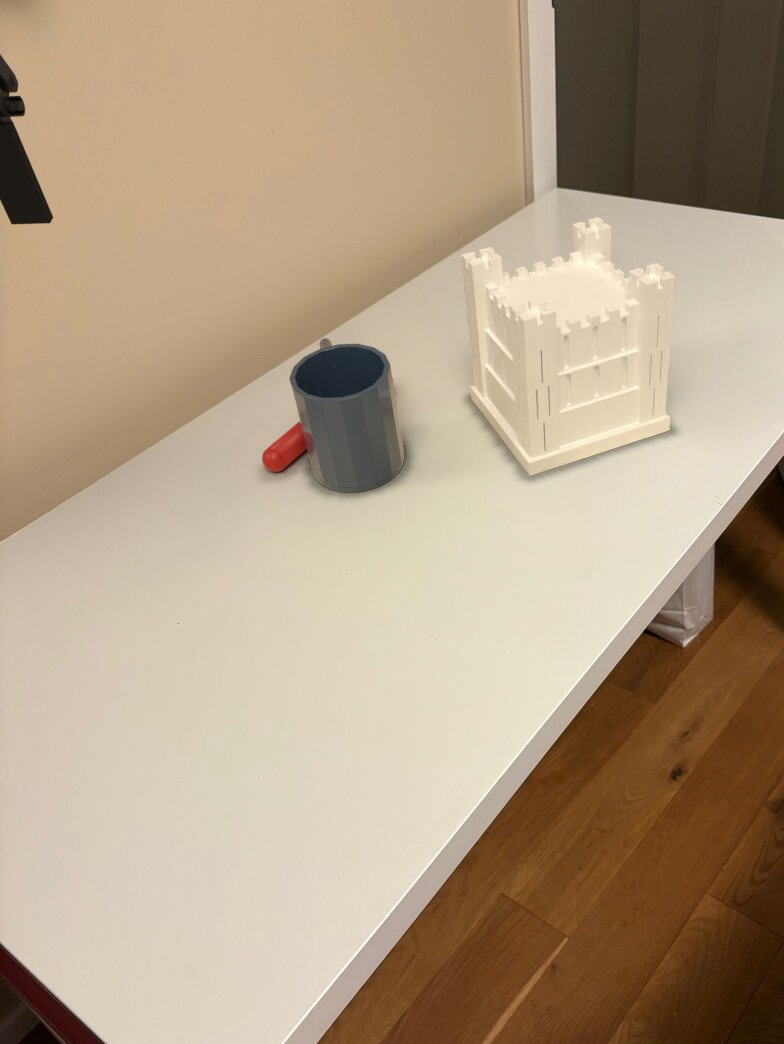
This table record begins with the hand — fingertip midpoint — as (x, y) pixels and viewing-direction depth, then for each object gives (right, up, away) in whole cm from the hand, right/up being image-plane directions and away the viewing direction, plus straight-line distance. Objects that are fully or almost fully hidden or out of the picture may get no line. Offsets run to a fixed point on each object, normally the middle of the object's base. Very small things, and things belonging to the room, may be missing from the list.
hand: (0, 281), depth 60 cm
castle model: (+40, -3, +31) cm, 50 cm away
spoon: (+16, -3, +33) cm, 37 cm away
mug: (+19, -6, +30) cm, 36 cm away
